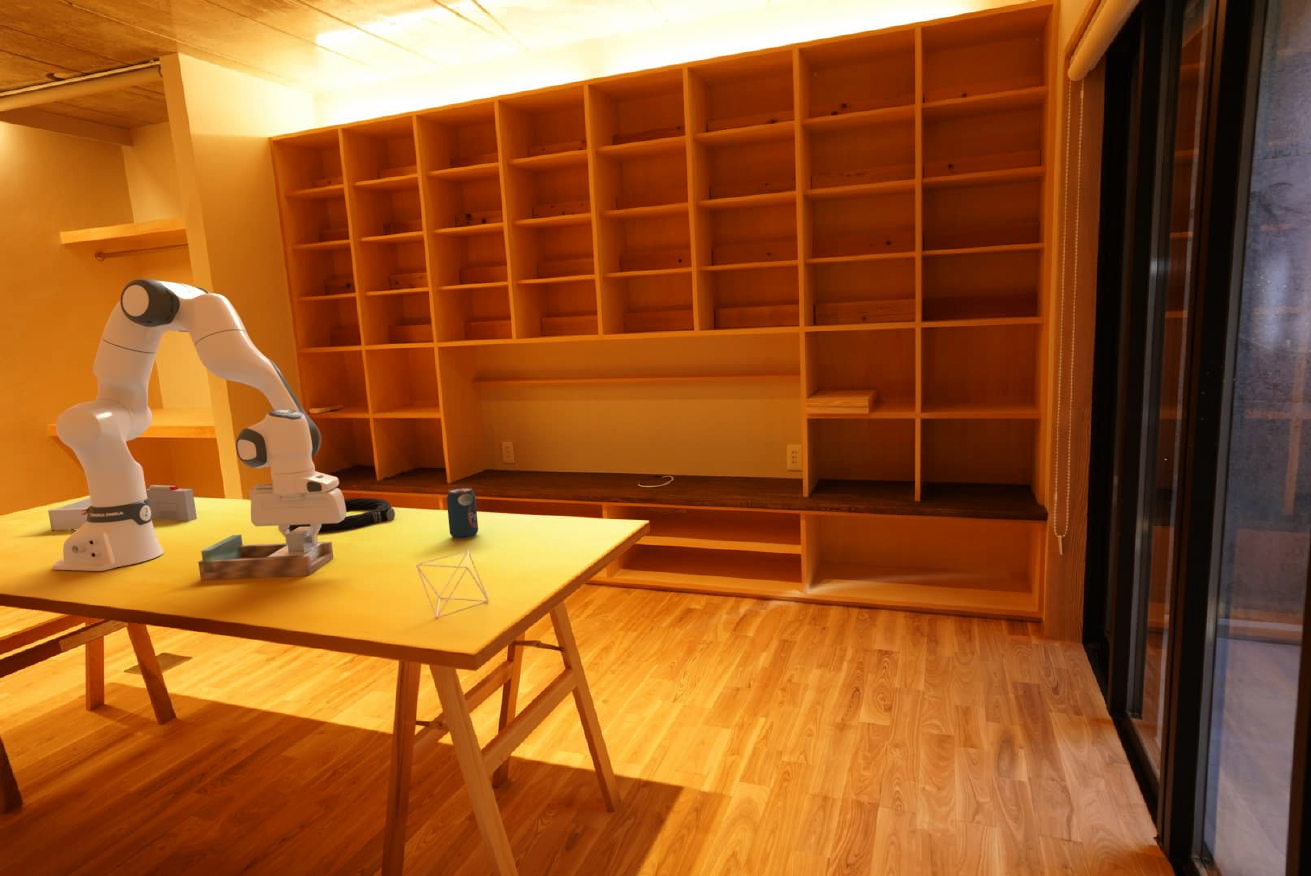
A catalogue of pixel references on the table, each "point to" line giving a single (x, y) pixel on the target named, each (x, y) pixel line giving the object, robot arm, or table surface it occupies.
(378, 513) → the cable lock
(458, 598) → the geometric polyhedron
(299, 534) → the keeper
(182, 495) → the cassette player
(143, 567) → the table surface
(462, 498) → the soda can
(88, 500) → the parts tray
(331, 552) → the drawer
